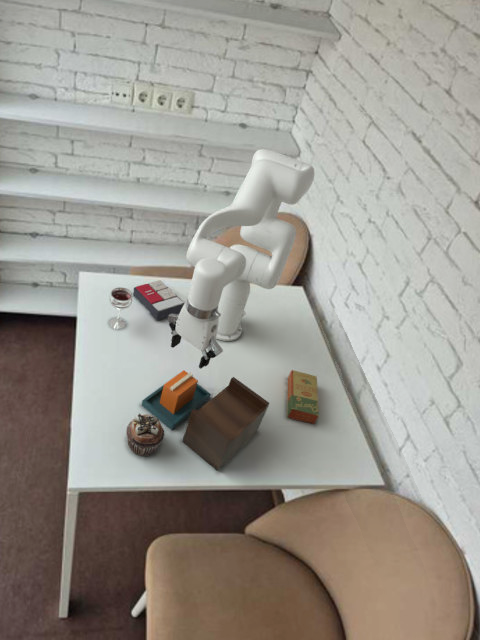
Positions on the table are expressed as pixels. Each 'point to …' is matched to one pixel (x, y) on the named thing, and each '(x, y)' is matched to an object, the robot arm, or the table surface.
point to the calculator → (158, 299)
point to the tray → (175, 419)
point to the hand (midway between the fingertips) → (189, 355)
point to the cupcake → (144, 434)
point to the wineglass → (120, 304)
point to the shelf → (225, 423)
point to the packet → (178, 391)
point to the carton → (302, 397)
